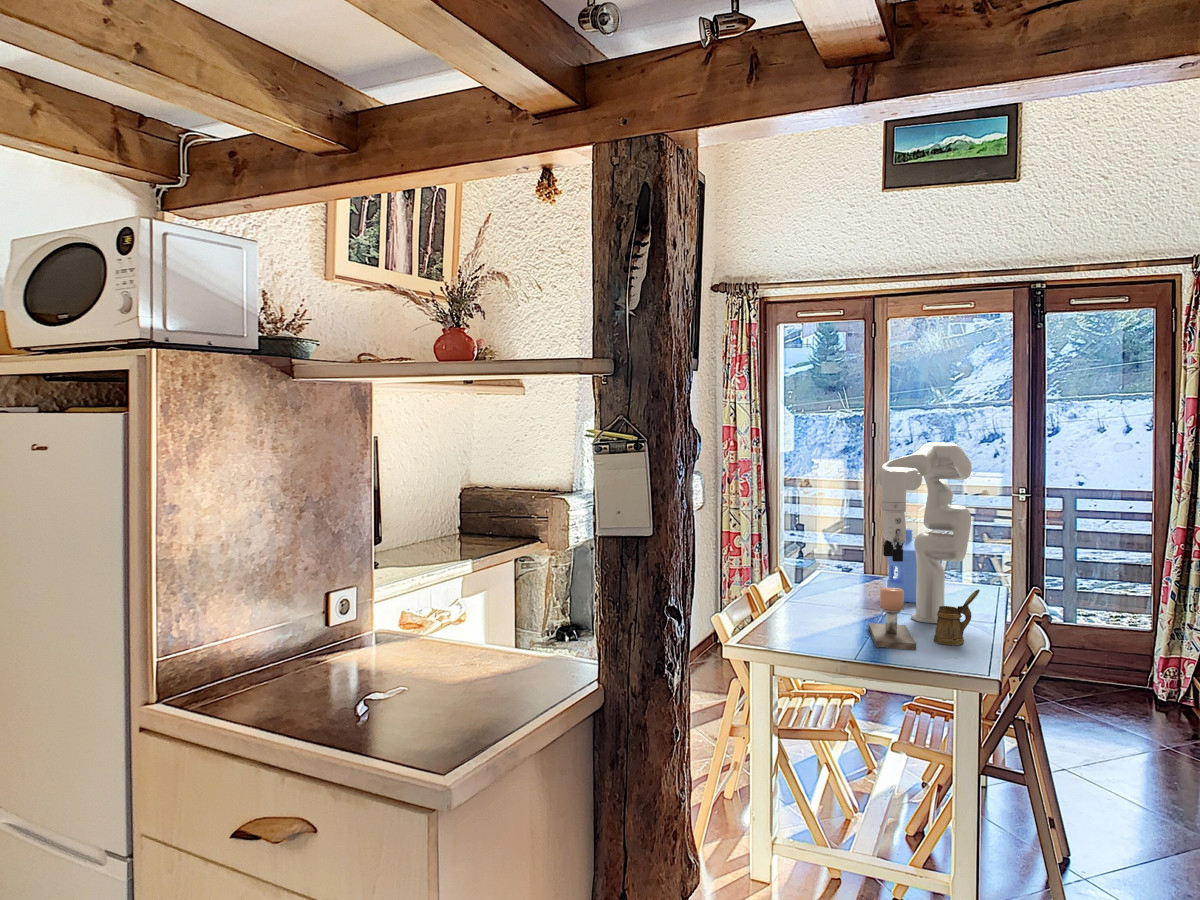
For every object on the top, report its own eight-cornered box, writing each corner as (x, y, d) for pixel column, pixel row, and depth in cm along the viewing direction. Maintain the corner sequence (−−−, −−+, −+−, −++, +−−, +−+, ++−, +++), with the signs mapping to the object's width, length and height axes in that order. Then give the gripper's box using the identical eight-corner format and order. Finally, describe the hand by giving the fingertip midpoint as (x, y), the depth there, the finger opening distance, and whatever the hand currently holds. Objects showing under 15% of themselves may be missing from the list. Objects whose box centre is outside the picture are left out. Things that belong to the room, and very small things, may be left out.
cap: (891, 611, 271) (892, 591, 270) (875, 606, 277) (875, 587, 277) (908, 609, 274) (909, 589, 274) (891, 604, 281) (891, 585, 280)
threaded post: (899, 631, 278) (899, 607, 278) (901, 635, 273) (901, 611, 272) (881, 630, 279) (881, 606, 279) (883, 634, 274) (883, 610, 274)
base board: (905, 630, 286) (905, 625, 286) (916, 649, 263) (916, 643, 263) (868, 628, 289) (868, 623, 289) (876, 647, 266) (876, 641, 266)
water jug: (923, 595, 344) (924, 528, 343) (931, 604, 328) (932, 533, 327) (883, 594, 347) (884, 527, 346) (889, 602, 331) (891, 532, 330)
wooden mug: (979, 648, 265) (980, 592, 265) (933, 643, 270) (934, 588, 269) (977, 641, 273) (979, 586, 273) (933, 637, 278) (934, 583, 278)
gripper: (914, 510, 266) (913, 563, 266) (897, 504, 283) (896, 554, 284) (890, 510, 266) (889, 563, 267) (874, 504, 283) (873, 554, 284)
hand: (892, 558), depth 275 cm, fingers open, 9 cm apart
